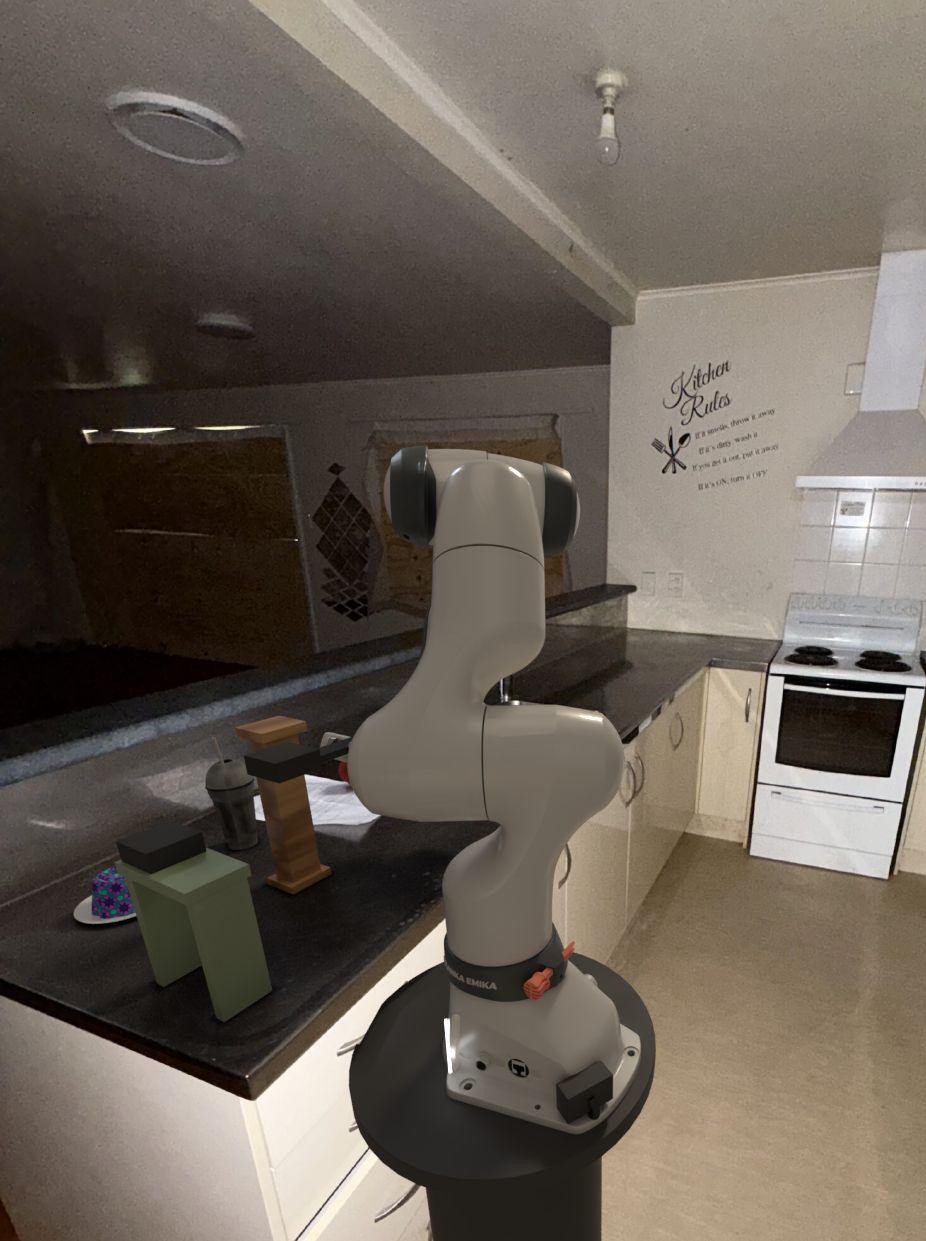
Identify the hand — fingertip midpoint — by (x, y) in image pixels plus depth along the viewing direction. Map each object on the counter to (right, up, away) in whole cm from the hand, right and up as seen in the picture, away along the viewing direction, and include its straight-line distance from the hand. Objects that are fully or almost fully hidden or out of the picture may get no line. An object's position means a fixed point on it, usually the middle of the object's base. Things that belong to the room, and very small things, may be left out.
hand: (339, 745), depth 84 cm
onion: (-18, -7, +51) cm, 55 cm away
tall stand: (-13, -21, +16) cm, 29 cm away
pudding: (-35, -23, +9) cm, 43 cm away
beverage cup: (-28, -16, +27) cm, 42 cm away
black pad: (-2, -2, -3) cm, 4 cm away
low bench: (-12, -29, -8) cm, 33 cm away
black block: (-15, -13, -12) cm, 23 cm away
